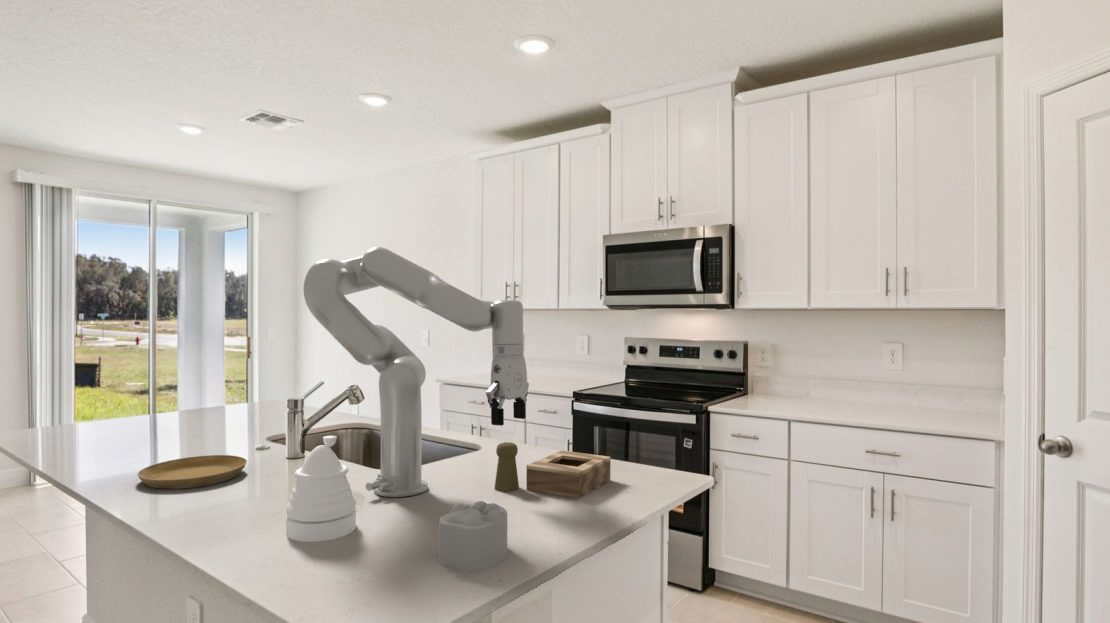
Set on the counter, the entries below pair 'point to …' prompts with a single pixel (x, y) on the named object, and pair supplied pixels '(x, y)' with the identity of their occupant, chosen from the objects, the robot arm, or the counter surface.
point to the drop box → (568, 474)
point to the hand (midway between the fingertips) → (508, 421)
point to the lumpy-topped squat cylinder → (473, 536)
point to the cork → (506, 468)
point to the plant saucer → (192, 471)
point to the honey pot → (321, 498)
